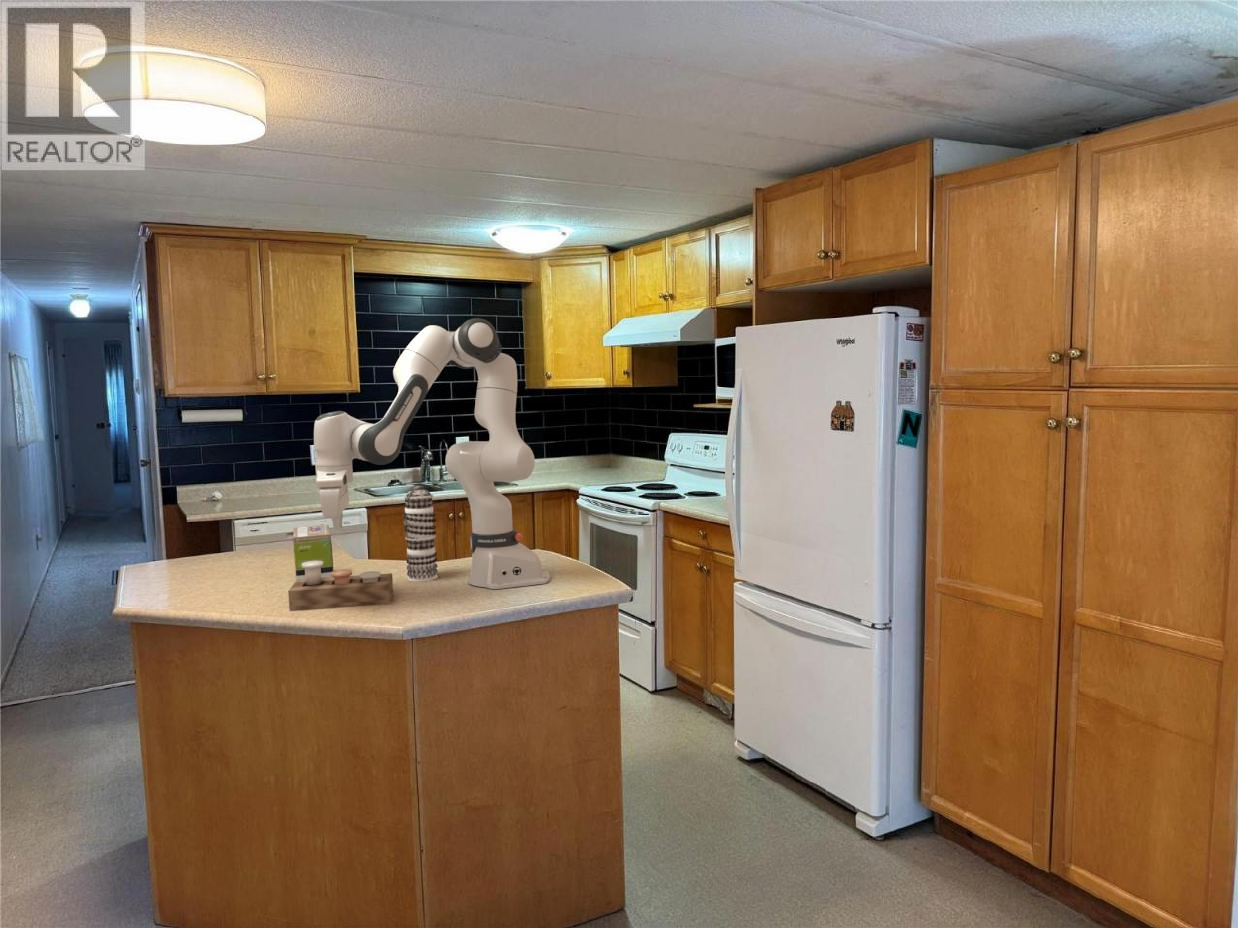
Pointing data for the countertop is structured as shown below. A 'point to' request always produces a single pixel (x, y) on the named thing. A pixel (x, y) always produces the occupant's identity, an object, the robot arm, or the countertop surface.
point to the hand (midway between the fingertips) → (337, 529)
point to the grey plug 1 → (312, 572)
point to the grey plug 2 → (370, 576)
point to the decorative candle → (420, 536)
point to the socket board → (340, 593)
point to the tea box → (313, 549)
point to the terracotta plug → (341, 576)
